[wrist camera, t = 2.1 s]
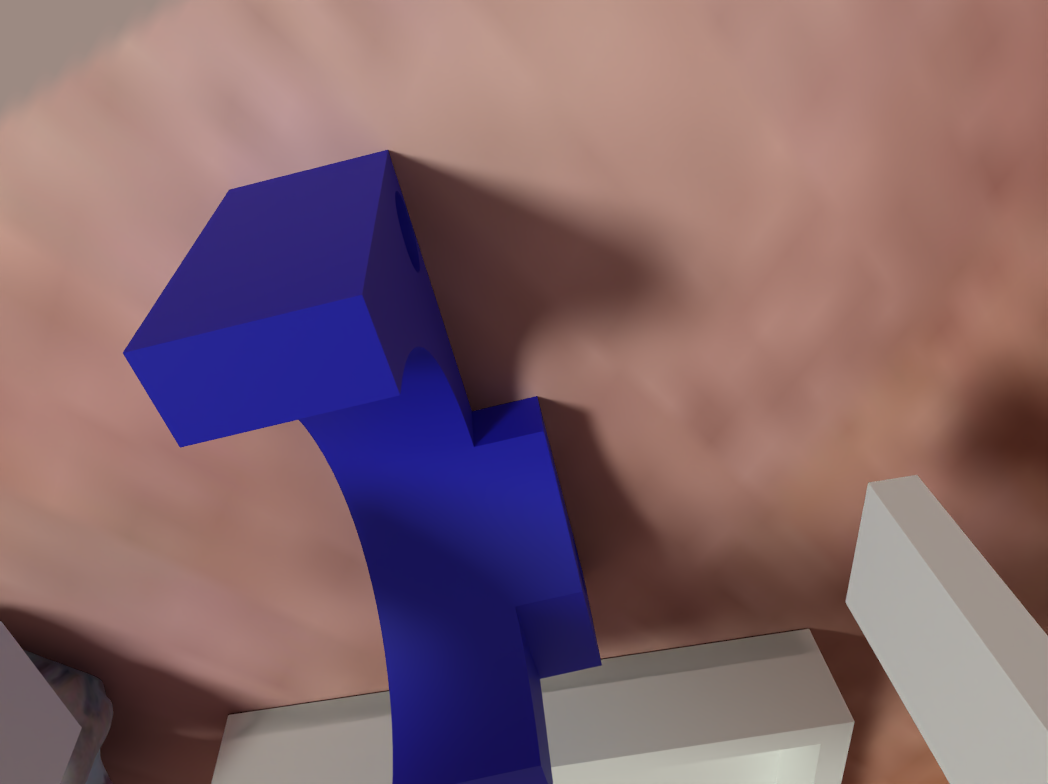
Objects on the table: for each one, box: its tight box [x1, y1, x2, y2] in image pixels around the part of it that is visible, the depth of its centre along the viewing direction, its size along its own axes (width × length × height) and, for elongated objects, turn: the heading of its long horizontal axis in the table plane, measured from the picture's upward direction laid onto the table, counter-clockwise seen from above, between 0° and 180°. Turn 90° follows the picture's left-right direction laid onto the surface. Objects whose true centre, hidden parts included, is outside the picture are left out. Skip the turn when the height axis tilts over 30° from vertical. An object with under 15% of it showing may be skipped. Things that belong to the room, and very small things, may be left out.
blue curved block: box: [123, 150, 602, 784], centre depth 15 cm, size 12×4×6 cm, turn 12°
